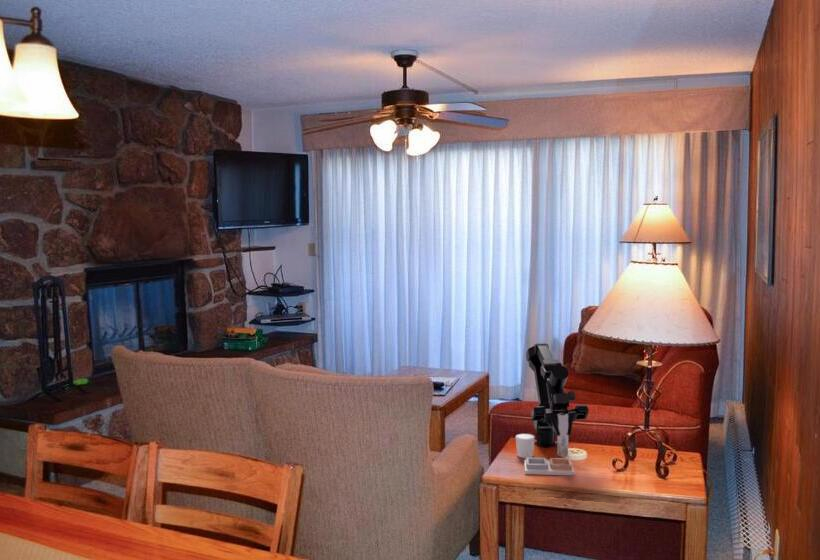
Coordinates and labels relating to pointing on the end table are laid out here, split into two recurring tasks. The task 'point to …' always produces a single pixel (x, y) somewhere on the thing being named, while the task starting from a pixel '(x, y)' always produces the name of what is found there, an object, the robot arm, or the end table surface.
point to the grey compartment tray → (548, 466)
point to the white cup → (525, 445)
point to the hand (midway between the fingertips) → (563, 435)
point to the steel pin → (562, 434)
